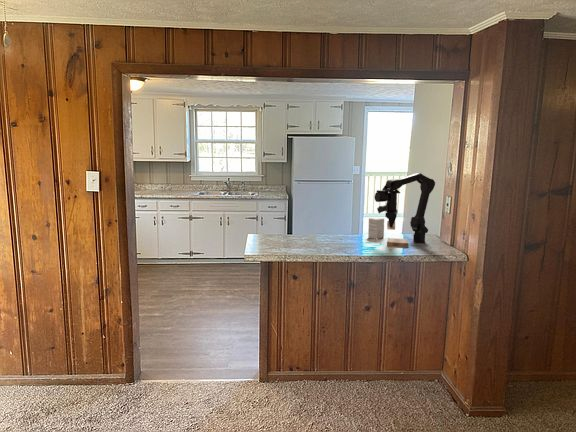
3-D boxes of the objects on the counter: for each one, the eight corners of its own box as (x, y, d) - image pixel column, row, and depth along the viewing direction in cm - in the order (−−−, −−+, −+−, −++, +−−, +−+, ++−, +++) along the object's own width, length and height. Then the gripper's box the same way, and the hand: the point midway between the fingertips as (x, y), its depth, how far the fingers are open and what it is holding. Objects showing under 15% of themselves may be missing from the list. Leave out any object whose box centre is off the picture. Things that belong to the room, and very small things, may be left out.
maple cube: (395, 228, 251) (395, 221, 250) (394, 229, 247) (395, 222, 246) (387, 228, 252) (387, 220, 252) (387, 229, 248) (387, 222, 247)
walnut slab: (407, 243, 254) (407, 239, 253) (407, 248, 242) (408, 243, 242) (387, 242, 257) (387, 238, 257) (386, 247, 246) (387, 242, 245)
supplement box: (375, 235, 277) (375, 217, 275) (384, 237, 271) (384, 218, 269) (367, 237, 272) (368, 218, 270) (376, 238, 266) (377, 219, 264)
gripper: (379, 199, 258) (378, 223, 260) (376, 202, 240) (376, 229, 243) (397, 199, 255) (397, 224, 257) (396, 203, 237) (396, 229, 240)
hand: (391, 226), depth 249 cm, fingers closed on maple cube, 4 cm apart
